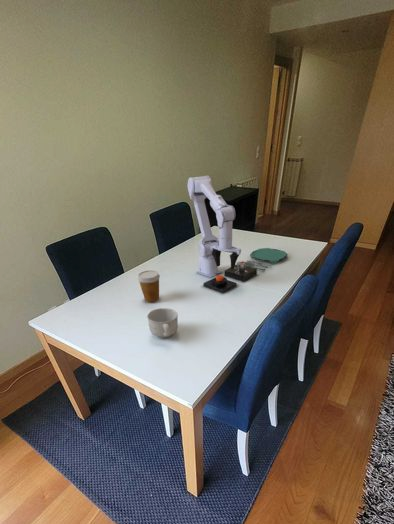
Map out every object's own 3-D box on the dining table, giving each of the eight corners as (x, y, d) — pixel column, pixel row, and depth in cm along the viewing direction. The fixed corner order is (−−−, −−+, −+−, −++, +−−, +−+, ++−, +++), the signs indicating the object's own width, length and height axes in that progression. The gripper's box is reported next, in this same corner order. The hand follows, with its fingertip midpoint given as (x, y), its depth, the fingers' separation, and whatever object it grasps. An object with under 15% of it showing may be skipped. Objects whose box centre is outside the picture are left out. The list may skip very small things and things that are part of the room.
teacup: (151, 326, 113) (147, 308, 108) (178, 323, 113) (177, 305, 108) (149, 347, 102) (145, 328, 97) (180, 345, 102) (178, 325, 97)
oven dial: (241, 271, 143) (241, 264, 141) (235, 269, 145) (235, 262, 143) (246, 269, 145) (246, 262, 143) (239, 267, 147) (240, 260, 145)
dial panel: (224, 276, 147) (224, 270, 146) (237, 269, 153) (237, 263, 152) (243, 282, 141) (243, 276, 139) (256, 274, 147) (257, 268, 145)
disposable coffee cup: (166, 295, 133) (163, 270, 126) (157, 305, 126) (153, 279, 119) (147, 293, 136) (143, 269, 128) (137, 303, 129) (132, 277, 121)
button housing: (203, 286, 139) (203, 279, 137) (217, 279, 144) (217, 272, 142) (222, 293, 132) (222, 286, 130) (236, 286, 137) (236, 279, 135)
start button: (214, 280, 136) (214, 276, 135) (219, 277, 138) (219, 274, 137) (220, 282, 134) (220, 278, 133) (225, 279, 136) (225, 276, 135)
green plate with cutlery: (292, 255, 165) (293, 251, 164) (267, 273, 147) (267, 269, 146) (261, 249, 176) (261, 245, 174) (234, 265, 157) (234, 261, 156)
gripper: (244, 236, 126) (243, 266, 135) (216, 232, 133) (216, 261, 141) (237, 241, 122) (236, 272, 130) (207, 237, 129) (208, 266, 137)
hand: (225, 267), depth 135 cm, fingers open, 7 cm apart
